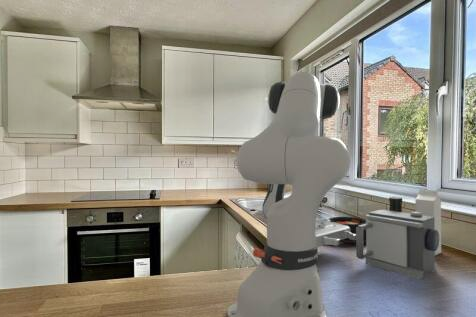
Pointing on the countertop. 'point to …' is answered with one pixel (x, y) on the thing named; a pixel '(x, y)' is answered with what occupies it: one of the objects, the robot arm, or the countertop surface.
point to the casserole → (351, 223)
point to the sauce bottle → (395, 204)
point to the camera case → (411, 242)
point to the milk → (430, 209)
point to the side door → (383, 242)
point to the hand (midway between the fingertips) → (347, 239)
